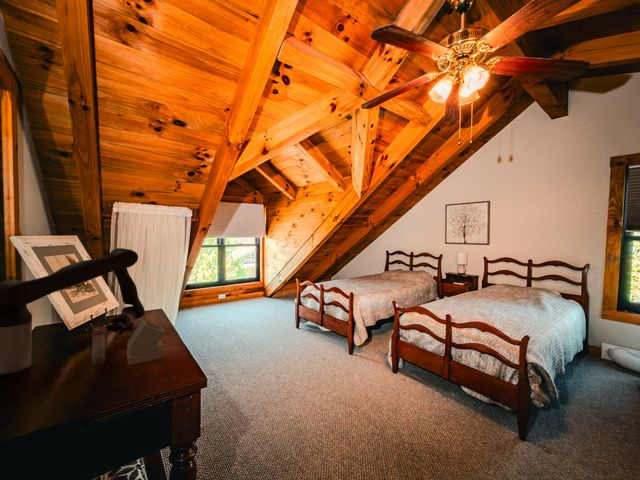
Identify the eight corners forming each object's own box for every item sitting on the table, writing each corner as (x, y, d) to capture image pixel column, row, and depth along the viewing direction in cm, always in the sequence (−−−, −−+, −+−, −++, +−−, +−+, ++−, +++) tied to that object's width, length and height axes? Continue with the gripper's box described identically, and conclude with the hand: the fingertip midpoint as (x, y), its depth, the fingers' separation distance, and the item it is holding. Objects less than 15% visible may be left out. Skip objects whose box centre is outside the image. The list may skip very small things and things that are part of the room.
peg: (91, 366, 108) (92, 330, 108) (91, 362, 112) (92, 327, 111) (104, 363, 111) (105, 328, 111) (104, 359, 114) (105, 325, 114)
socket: (128, 365, 110) (129, 328, 110) (126, 355, 119) (127, 320, 119) (165, 357, 118) (166, 323, 118) (161, 348, 127) (162, 316, 127)
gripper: (104, 315, 133) (88, 326, 118) (139, 313, 138) (127, 324, 122) (104, 330, 133) (88, 343, 118) (138, 328, 138) (127, 341, 122)
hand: (108, 333), depth 120 cm, fingers open, 8 cm apart
